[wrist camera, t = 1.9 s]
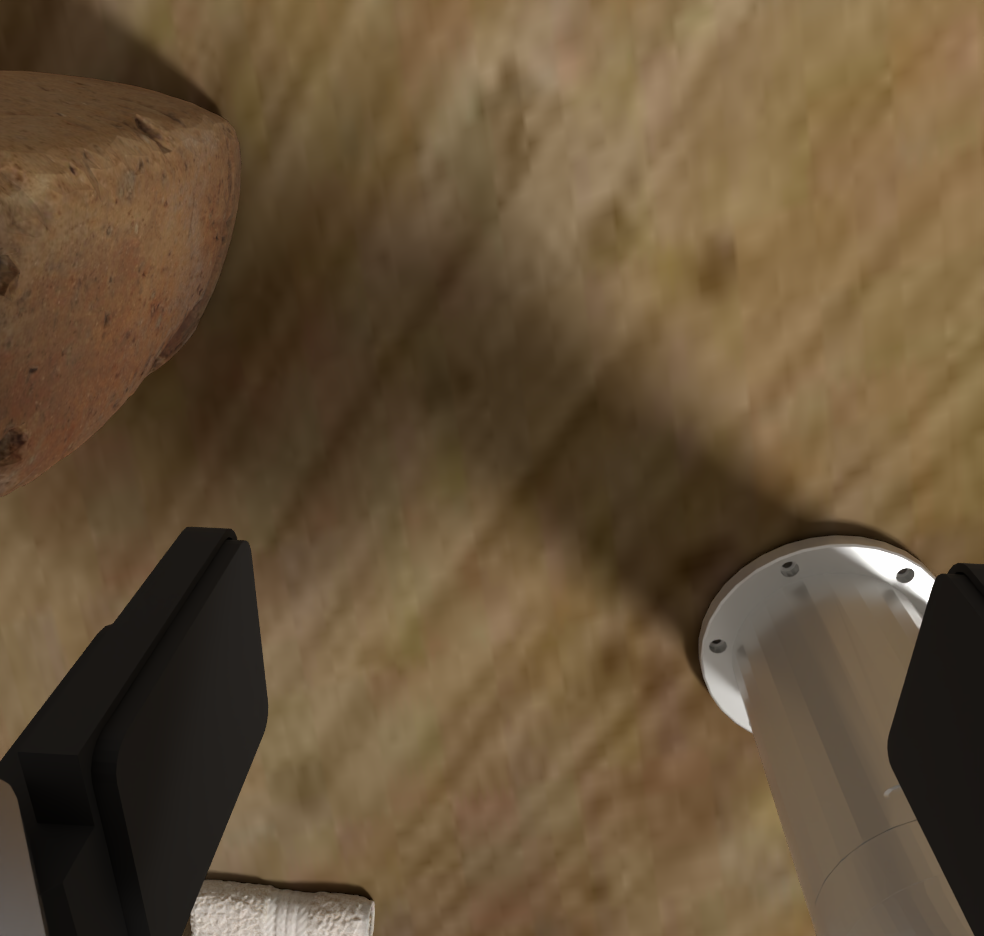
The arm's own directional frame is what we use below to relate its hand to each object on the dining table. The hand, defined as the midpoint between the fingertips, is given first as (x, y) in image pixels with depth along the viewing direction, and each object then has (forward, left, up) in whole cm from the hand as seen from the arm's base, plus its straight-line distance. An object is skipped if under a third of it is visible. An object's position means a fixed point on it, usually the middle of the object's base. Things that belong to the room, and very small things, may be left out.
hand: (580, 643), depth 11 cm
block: (+17, 0, -28) cm, 33 cm away
